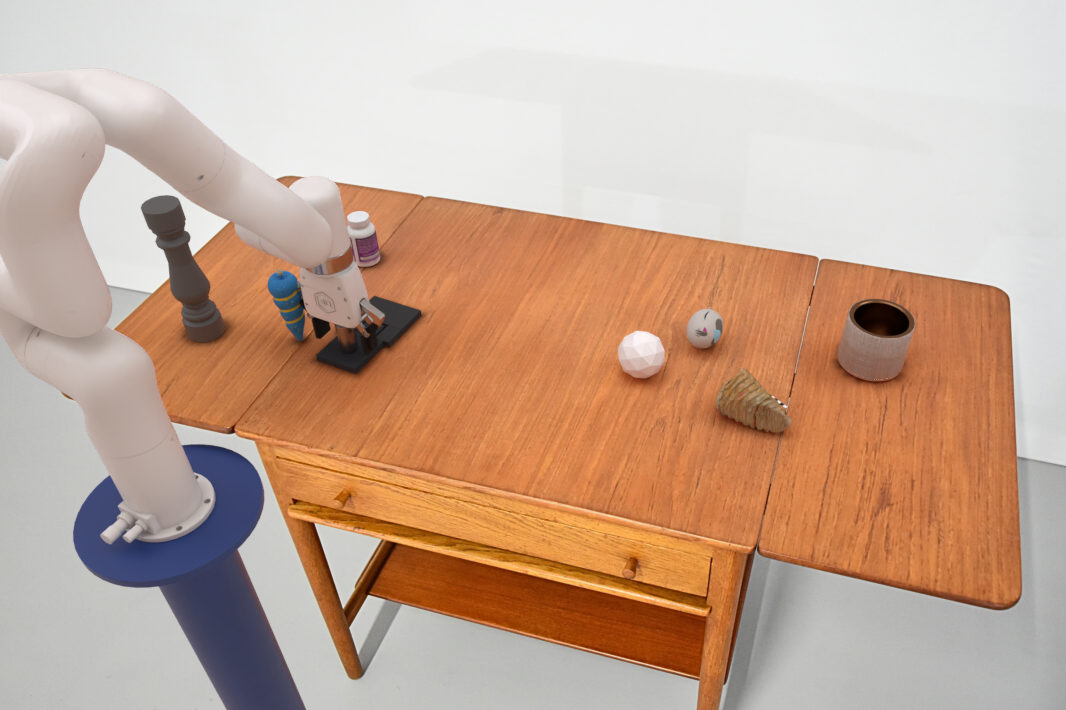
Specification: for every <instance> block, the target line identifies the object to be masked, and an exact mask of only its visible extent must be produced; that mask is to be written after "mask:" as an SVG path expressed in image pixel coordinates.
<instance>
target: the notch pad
mask: <svg viewBox="0 0 1066 710" xmlns="http://www.w3.org/2000/svg"><path fill="white" fill-rule="evenodd" d="M369 302H370V304H372V305H373V306H374V307H376V308H377V309H378V310H380V311H381V312H382V313H383V314H385V319H384V321H383V325H384V326H385V329H384V330H383V331H382V332H381V333H380V334H379V335H378V336H377V339H378V340H381V341H383V342H384V347H385V348H389V349H390V348H391V347H392V346H393V345H394V344H395V343H396V342H397V341H398V340H399V339H400V338H401V337H402V336H403V335H404V334H405V333H406V332H407V331H408V330H409V329H410V328H411V327H412V326H413V325H414V324H415V323H416V322H417V321H418V320H419V319H420V318H421V317H423V316H422V310H421V309H418V308H414V307H411V306H409V305H405V304H402V303H399V302H396V301H392V300H390V299H387V298H383V297H381V296H376V295H373V296H372V297H371V298H369ZM365 322H366V321H365V320H363V321H361V323H362V324H364V323H365ZM357 330H358V329H357V327H355V331H357Z"/></svg>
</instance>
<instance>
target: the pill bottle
mask: <svg viewBox="0 0 1066 710" xmlns="http://www.w3.org/2000/svg"><path fill="white" fill-rule="evenodd" d="M346 219H347V220H346V221H347V229H348V234H349V239H350V244H351V248H352V253H353V258H354V262H355V263H357V265H358V267H361V268H369V267H373V266H375V265H376V264H379V262H380V260H381V252H380V246H379V241H378V234H377V230H376V226H375V225H374V224H373V222H371V217H370V214H369V213H368V212H367V211H364V210H357V211H352V212H351V213H349V214H348V215H347V217H346Z"/></svg>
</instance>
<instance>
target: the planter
mask: <svg viewBox="0 0 1066 710" xmlns="http://www.w3.org/2000/svg"><path fill="white" fill-rule="evenodd" d="M916 323H917V322H916V319H915V316H914V315H913V314H912V313H911V312H910V311H909V310H908V309H907V308H906V307H905V306H903V305H901V304H900V303H897V302H895V301H891V300H888V299H885V298H884V299H883V298H865V299H861V300H858V301H857V302H855V303H853V304H852V305H851V306H850V308H849V309H848V311H847V316H846V320H845V324H844V328H843V331H842V335H841V338H840V342H839V345H838V348H837V361H838V363H839V365H840V366H841V367H842V369H843V370H844V371H845V372H846V373H848V374H849V375H851V376H853V377H855V378H856V379H860V380H863V381H867V382H886V381H889V380H893V379H895V378H896V377H898V376H899V374H900V373H901V372H902V370H903V368H904V365H905V361H906V359H907V355H908V352H909V348H910V344H911V342H912V339H913V335H914V332H915V328H916ZM838 358H839V359H838ZM840 362H841V363H840ZM848 370H849V371H848ZM851 372H852V373H851ZM899 372H900V373H899ZM853 373H854V374H853ZM898 373H899V374H898ZM855 374H856V375H855ZM857 375H858V376H857ZM895 375H896V376H895ZM893 376H894V377H893ZM863 377H864V378H863ZM890 377H892V378H890ZM886 378H888V379H886ZM874 379H875V380H874ZM876 379H877V380H876ZM878 379H879V380H878ZM880 379H883V380H880Z"/></svg>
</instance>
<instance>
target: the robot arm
mask: <svg viewBox="0 0 1066 710" xmlns="http://www.w3.org/2000/svg"><path fill="white" fill-rule="evenodd" d="M106 145H107V146H109V147H112V148H114V149H117V150H120V151H121V152H123V153H125V154H126V155H128V156H130V157H131V158H132V159H133V160H135V161H136V162H137V163H139V164H140V165H142V166H143V167H145V168H146V169H147V170H148V171H150V172H152V173H153V174H154V175H155V176H157V177H158V178H160V179H161V180H162V181H164V183H166V184H168V186H170V187H171V188H173V189H174V190H175V191H176V192H178V193H179V194H180V195H182V197H184V198H185V199H187V200H188V201H190V202H192V203H193V204H195V205H196V206H198V207H200V208H201V209H203V210H205V211H207V212H208V213H210V214H212V215H215V216H217V217H219V218H220V219H221V218H222V219H224V220H226V221H227V222H231V223H233V224H234V230H235V233H236V236H237V237H238V238H239V239H240V241H241V242H242V243H244V244H245V245H247V246H249V247H250V248H252V249H254V250H257V251H259V252H261V253H264V254H267V255H269V256H271V257H275V258H277V259H279V260H282V261H284V262H286V263H289V264H291V265H293V266H295V267H298V268H299V283H300V284H301V286H298V288H297V289H296V292H297V293H298V295H299V297H300V305H301V306H302V307H303V308H304V312H305V311H306V317H307V318H308V319H310V320H311V324H312V328H313V332H314V336H315V339H317V340H321V339H323V338H324V337H325V336H326V335H327V334H328V333H329V332H330V331H331V330H332V328H331V324H333V325H335V324H337V325H340V326H343V327H347V328H355V327H357V329H358V330H359V331H360V332H361V333H362V335H361V337H360V339H361V343H362V348H363V353H364V355H367V356H368V355H369V354H370V353H371V352H372V351H373V350H374V349H375V348H376V347H377V346H378V341H377V335H376V330H378V329H379V328H380V327H381V326H382V325H383V321H384V319H385V314H383V313H382V312H381V311H380V310H378V309H377V308H376V307H374V306H373V305H372V304H370V302H369V300H370V297H369V293H368V290H367V287H366V284H365V281H364V278H363V275H362V271H361V270H360V268H359V266H358V265H357V263H355V262H354V258H353V253H352V248H351V244H350V239H349V234H348V229H347V226H348V223H347V220H346V219H347V218H346V214H345V211H344V210H345V209H344V205H343V201H342V196H341V192H340V188H339V186H338V185H337V183H336V182H335V181H334V180H333V179H331V178H328V177H326V176H320V175H311V176H305V177H302V178H299V179H297V180H295V181H293V182H292V183H291V184H290V186H289V187H287V186H286V185H284V184H283V183H281V182H280V181H279V180H277V179H275V178H274V177H273V176H271V175H270V174H268V173H267V172H265V171H264V170H263V169H261V168H260V167H259V166H258V165H256V164H254V163H253V162H252V161H251V160H249V159H247V158H246V157H244V156H243V155H241V154H240V153H238V151H236V150H235V149H233V148H232V147H231V146H229V145H228V143H226V142H225V141H224V140H222V138H221V137H219V136H218V134H216V133H215V132H214V131H212V130H211V129H210V128H209V127H208V126H207V125H206V124H205V123H204V122H202V120H200V119H199V118H198V116H196V115H195V114H194V113H192V112H191V111H190V110H189V109H188V108H187V107H186V106H184V105H183V104H182V103H181V102H180V101H179V100H178V99H177V98H175V97H174V96H173V95H171V94H170V93H169V92H167V91H166V90H165V89H163V88H161V87H160V86H158V85H155V84H153V83H150V82H148V81H145V80H142V79H138V78H136V77H133V76H130V75H127V74H123V73H122V72H121V73H120V72H118V71H115V70H112V69H108V68H99V67H98V68H97V67H90V68H89V67H88V68H68V69H55V70H54V69H53V70H42V71H27V72H10V73H0V159H2V160H5V161H6V162H5V164H4V166H3V167H2V169H1V170H0V334H1V336H2V338H3V339H4V342H5V343H6V345H7V347H8V349H9V350H10V352H11V353H12V355H13V357H14V358H15V359H16V361H17V362H18V363H19V365H20V366H21V367H22V368H23V369H24V370H25V371H27V372H28V373H29V374H31V375H32V376H34V377H36V378H37V379H39V380H41V381H43V382H44V383H46V384H48V385H49V386H51V387H53V388H55V389H56V390H58V392H59V391H60V393H63V394H65V395H66V396H68V397H69V398H71V399H73V401H75V402H76V404H77V405H78V406H79V407H80V408H81V410H82V413H83V415H84V426H85V427H84V428H85V430H86V433H87V435H88V437H89V440H90V442H91V444H92V445H93V447H94V449H95V450H96V452H97V454H98V455H99V458H100V459H101V461H102V464H103V465H104V466H105V469H106V470H107V473H108V474H109V475H110V476H111V478H112V480H113V482H114V484H115V485H116V487H117V489H118V491H119V493H120V495H121V497H122V499H123V500H124V501H123V502H121V503H120V504H119V505H118V507H119V509H120V511H121V514H120V515H118V516H117V521H116V522H115V523H114V524H113V525H111V526H109V527H108V528H107V529H106V530H105V531H104V532H103V533H102V534H100V537H101V538H102V539H103V540H104V541H105V542H106V543H108V544H112V543H113V542H114V541H115V540H116V539H117V538H119V537H120V536H121V535H122V533H123V532H124V531H125V530H126V531H127V533H126V534H125V535H123V536H122V537H123V539H124V540H125V541H126V542H128V543H131V542H132V541H133V540H134V539H138V540H140V541H144V542H165V541H170V540H174V539H177V538H179V537H182V536H184V535H186V534H188V533H190V532H192V531H193V530H195V529H196V528H197V527H199V526H200V525H201V524H202V523H203V522H204V521H205V520H206V519H207V518H208V517H209V515H210V514H211V512H212V510H213V508H214V505H215V501H216V496H215V491H214V488H213V486H212V484H211V483H210V481H209V480H208V479H207V478H205V477H204V476H202V475H200V474H197V473H194V472H193V470H192V468H191V465H190V463H189V461H188V459H187V456H186V454H185V452H184V450H183V447H182V445H183V444H182V443H181V440H180V438H179V436H178V434H177V431H176V429H175V427H174V424H173V422H172V420H171V418H170V416H169V413H168V411H167V409H166V406H165V403H164V401H163V399H162V396H161V392H160V389H159V385H158V379H157V373H156V368H155V364H154V362H153V359H152V357H151V356H150V354H149V353H148V352H147V351H146V349H144V347H142V346H141V345H140V344H139V343H137V342H136V341H135V340H133V339H132V338H131V337H129V336H126V335H125V334H123V333H121V332H119V331H117V330H115V329H113V328H111V327H109V326H107V324H108V323H109V321H110V319H111V317H112V314H113V313H112V312H113V299H112V295H111V290H110V287H109V285H108V283H107V279H106V278H105V276H104V274H103V271H102V269H101V267H100V264H99V262H98V261H97V258H96V256H95V252H94V251H93V248H92V245H91V244H90V242H89V240H88V237H87V235H86V231H85V229H84V226H83V224H82V220H81V215H80V207H81V200H82V198H83V196H84V193H85V191H86V189H87V187H88V186H89V184H90V183H91V181H92V179H93V178H94V176H95V175H96V173H97V172H98V170H99V168H100V167H101V164H102V163H103V161H104V157H105V154H106ZM363 320H365V321H366V322H367V323H368V324H369V326H368V327H367V328H366V327H365V326H364V325H363V324H362V323H361V321H363ZM330 323H331V324H330Z"/></svg>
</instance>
